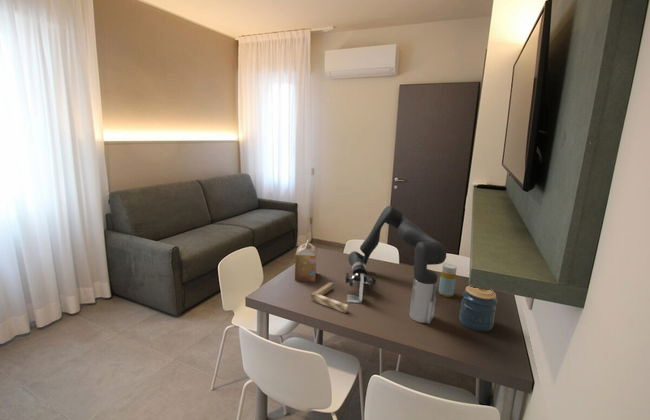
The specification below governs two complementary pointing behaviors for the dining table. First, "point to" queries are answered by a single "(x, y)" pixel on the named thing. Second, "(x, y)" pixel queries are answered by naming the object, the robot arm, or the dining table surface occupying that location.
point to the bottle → (447, 280)
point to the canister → (478, 309)
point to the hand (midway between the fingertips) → (361, 285)
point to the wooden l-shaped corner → (326, 301)
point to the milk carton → (305, 262)
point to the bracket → (359, 297)
